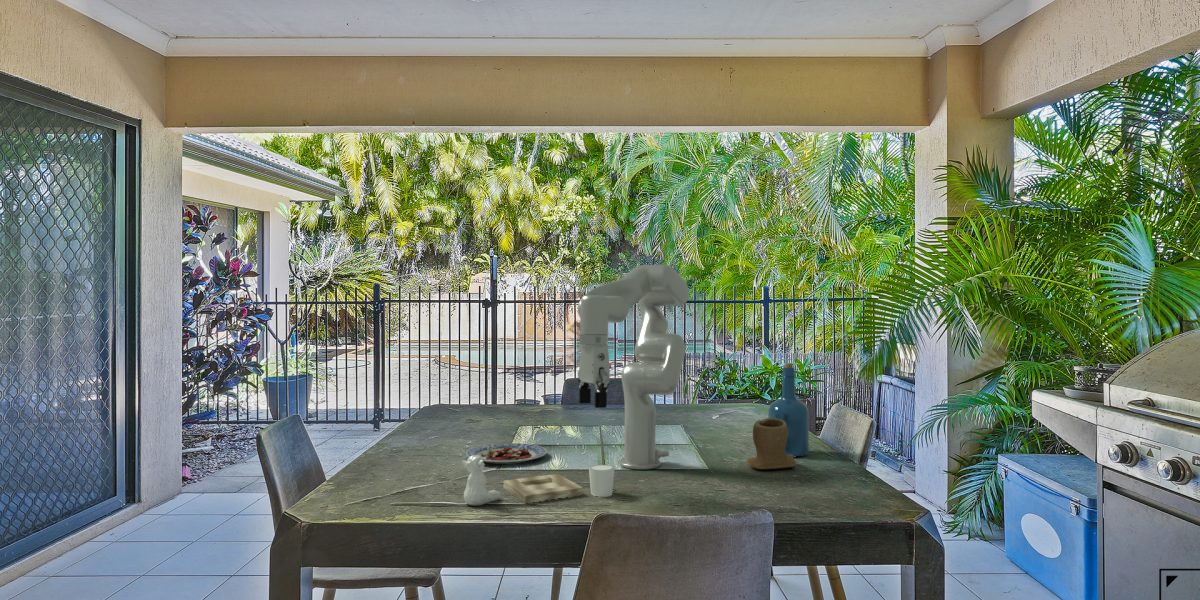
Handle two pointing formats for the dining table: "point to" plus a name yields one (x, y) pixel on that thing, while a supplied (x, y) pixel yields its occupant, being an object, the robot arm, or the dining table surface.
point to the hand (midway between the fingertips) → (592, 405)
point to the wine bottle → (792, 414)
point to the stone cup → (771, 445)
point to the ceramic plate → (507, 453)
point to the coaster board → (542, 488)
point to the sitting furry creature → (477, 483)
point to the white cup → (601, 480)
